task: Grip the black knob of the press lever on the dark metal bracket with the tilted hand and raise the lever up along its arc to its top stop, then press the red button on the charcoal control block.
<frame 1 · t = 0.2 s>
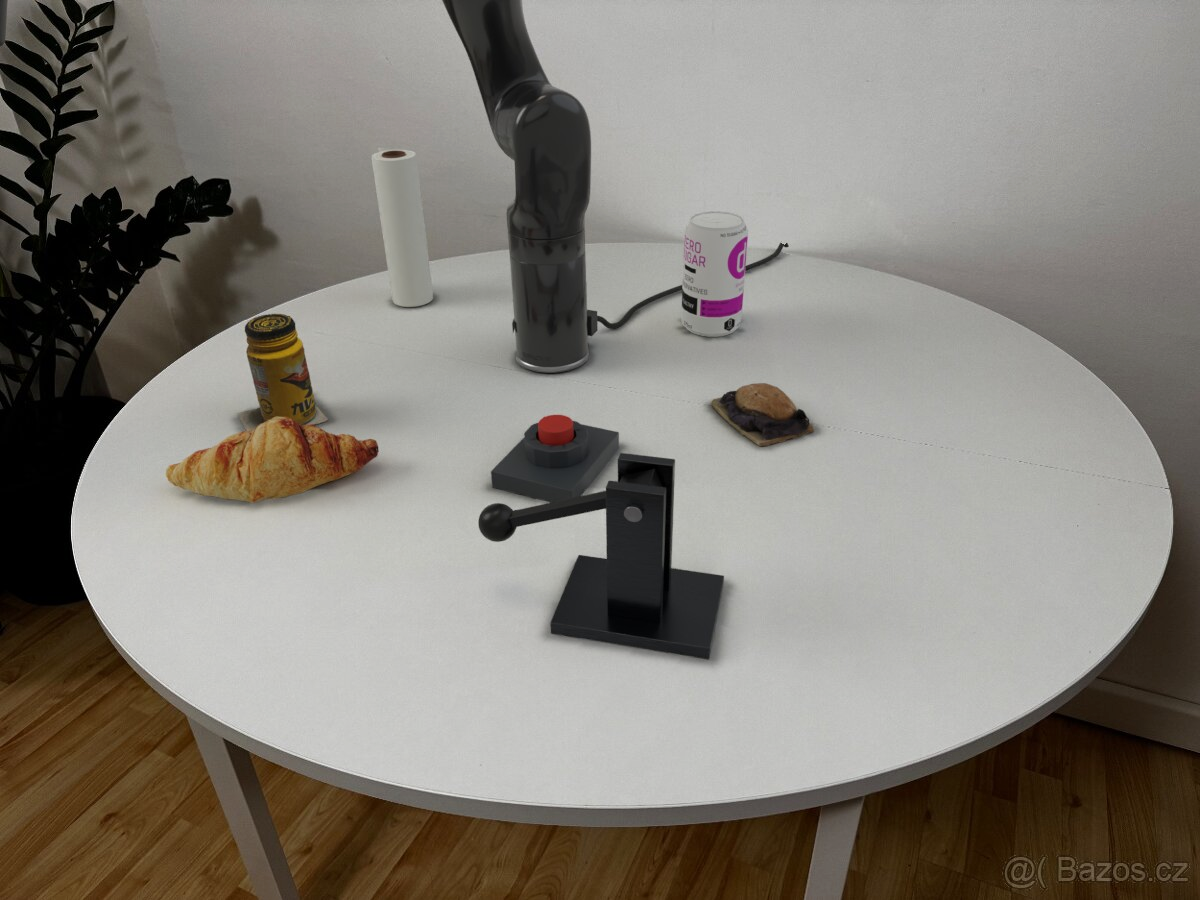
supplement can: (710, 327, 124), on the table
bracket: (639, 609, 75), on the table
paper towel roll: (414, 300, 133), on the table
control block: (557, 467, 94), on the table
button: (555, 430, 92), point 4 cm above the table, slide at 0.1 cm
brown rounded layered piece: (760, 419, 102), on the table
condiment: (282, 420, 104), on the table
croissant: (278, 479, 93), on the table
lever: (565, 508, 71), point 10 cm above the table, hinge at -22.0°
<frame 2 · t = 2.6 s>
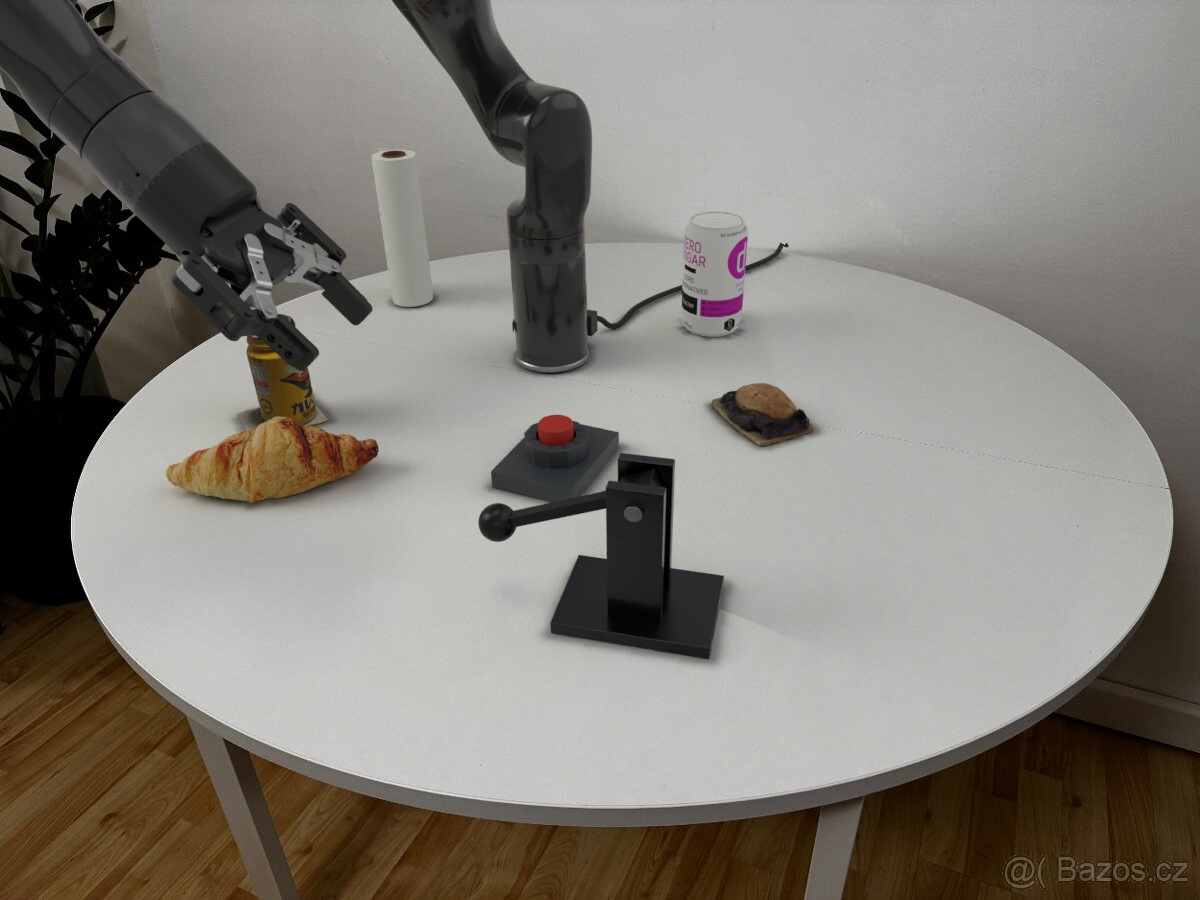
hand: (339, 339, 68), 23 cm above the table, tool tilted 45°, fingers open, 8 cm apart
nothing on the table moved.
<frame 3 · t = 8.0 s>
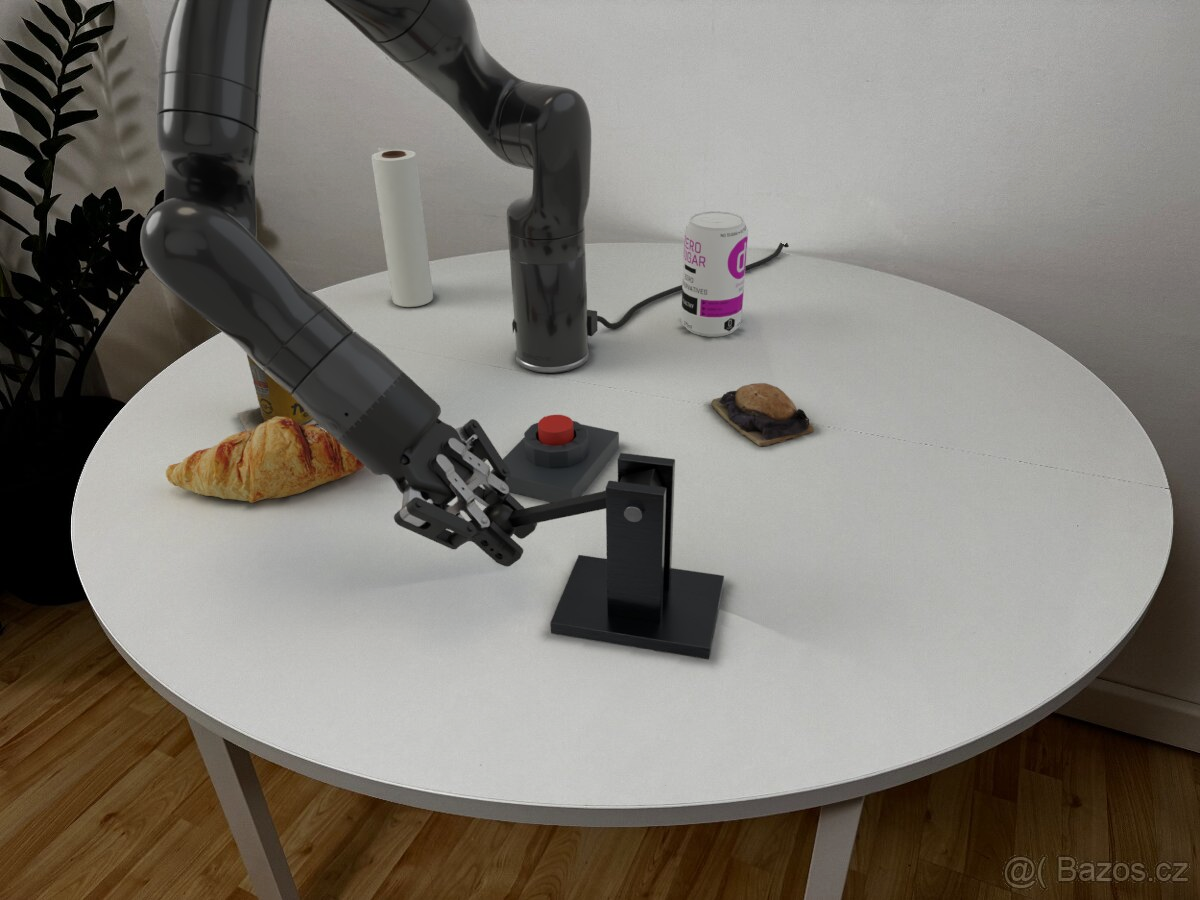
hand: (522, 544, 75), 5 cm above the table, tool tilted 45°, fingers closed on lever, 3 cm apart
lever: (565, 508, 71), point 10 cm above the table, hinge at -22.1°, touching gripper
everything else where it was.
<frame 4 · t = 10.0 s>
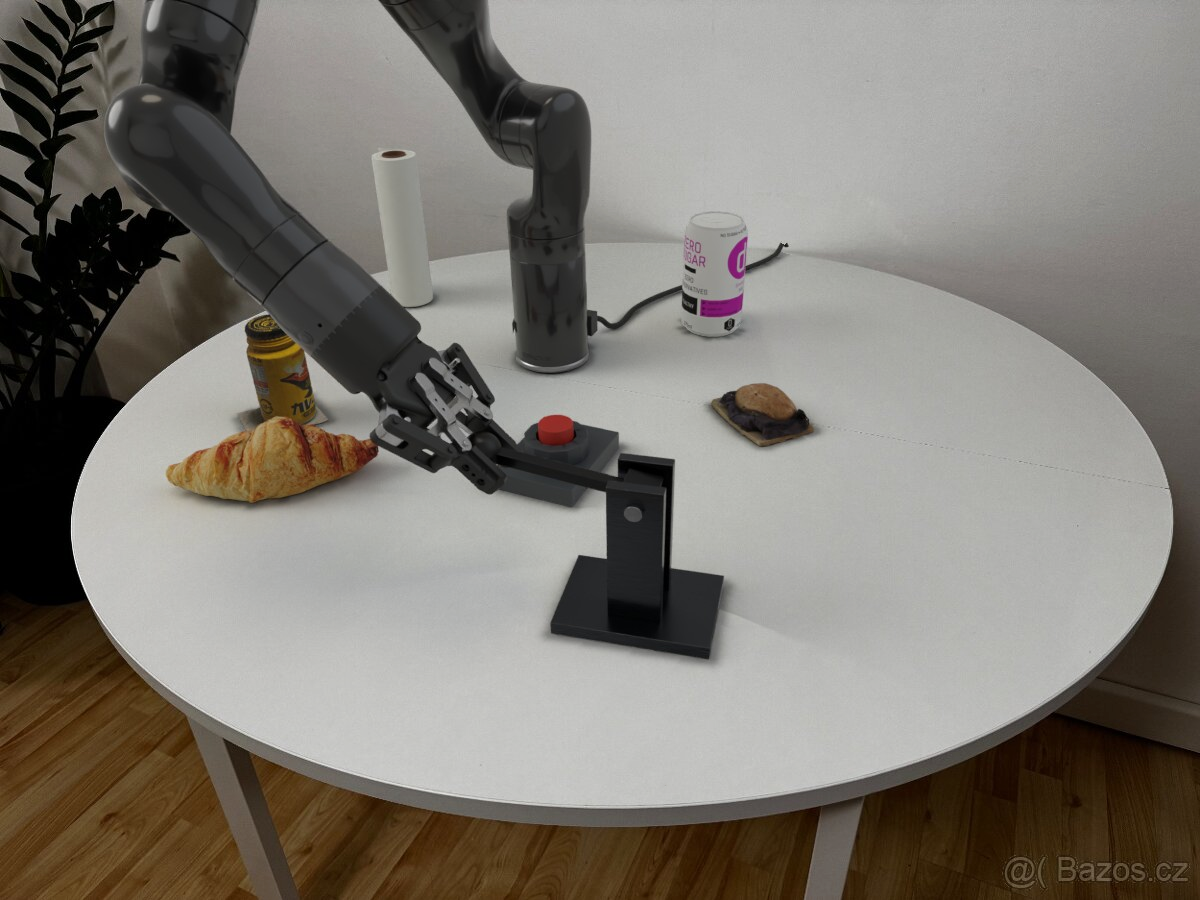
hand: (506, 472, 71), 12 cm above the table, tool tilted 45°, fingers closed on lever, 3 cm apart
lever: (559, 471, 70), point 13 cm above the table, hinge at 8.9°, touching gripper
everything else where it was.
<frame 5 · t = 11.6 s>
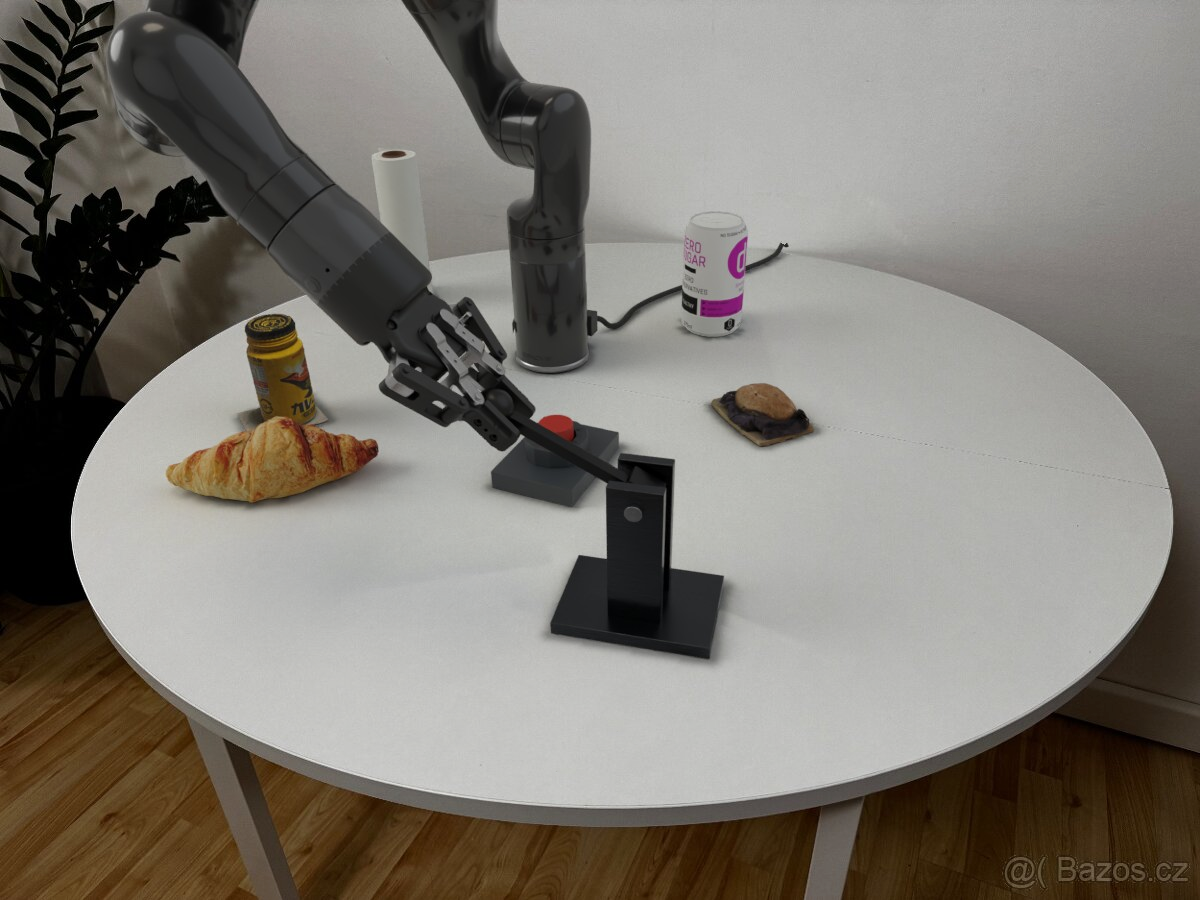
hand: (519, 430, 69), 16 cm above the table, tool tilted 45°, fingers closed on lever, 3 cm apart
lever: (566, 450, 68), point 15 cm above the table, hinge at 27.6°, touching gripper
everything else where it was.
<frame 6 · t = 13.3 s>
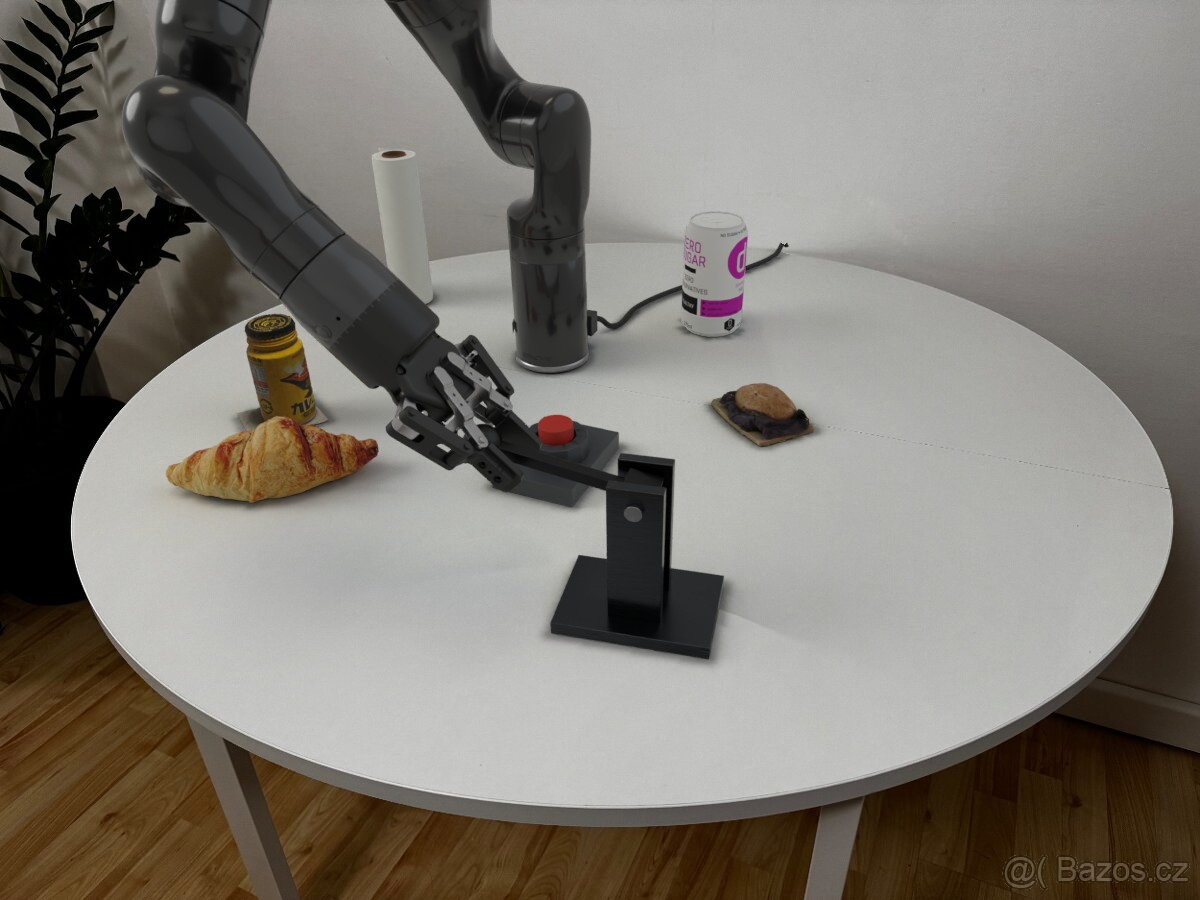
hand: (524, 467, 70), 13 cm above the table, tool tilted 45°, fingers open, 4 cm apart
lever: (559, 467, 70), point 13 cm above the table, hinge at 11.9°
everything else where it was.
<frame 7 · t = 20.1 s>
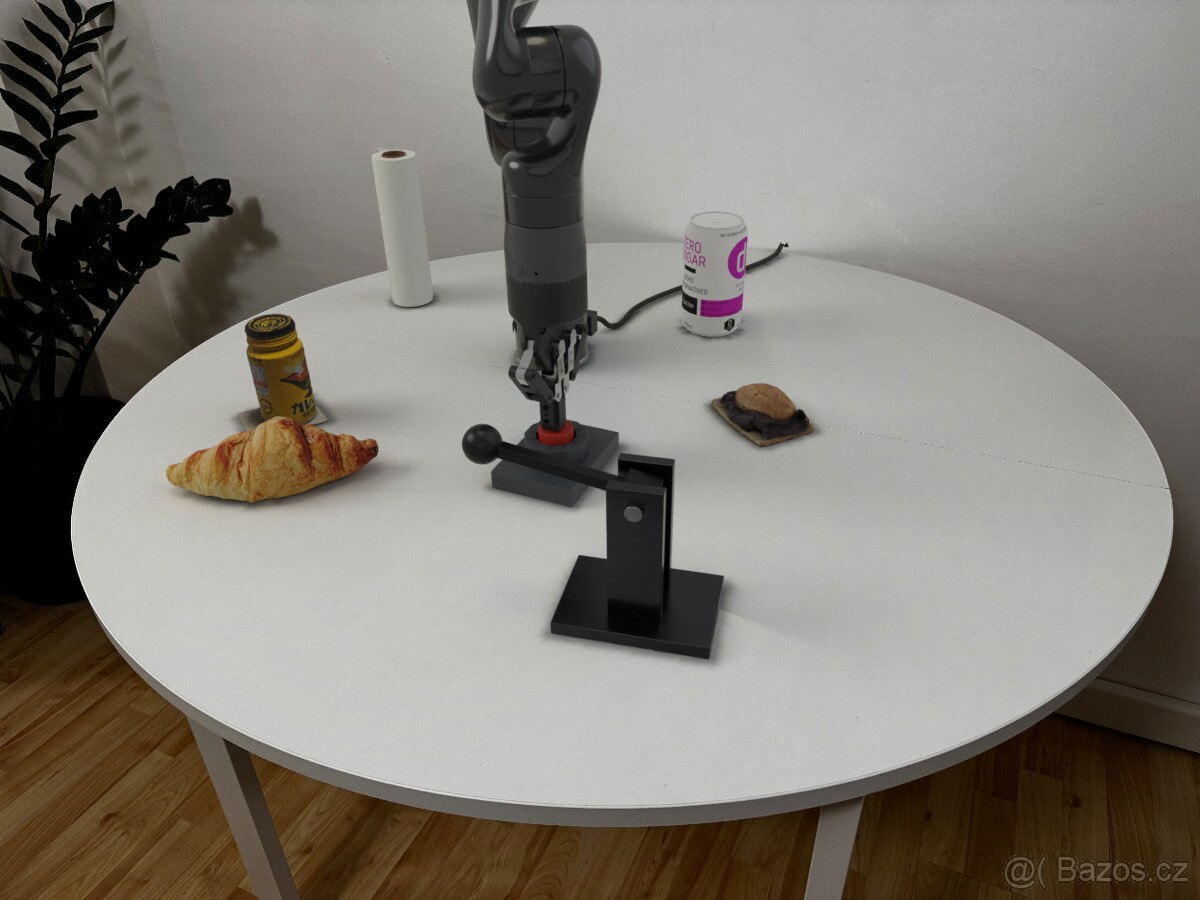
hand: (553, 427, 91), 5 cm above the table, tool pointing down, fingers closed
button: (556, 434, 92), point 4 cm above the table, slide at -0.4 cm, touching gripper
everything else where it was.
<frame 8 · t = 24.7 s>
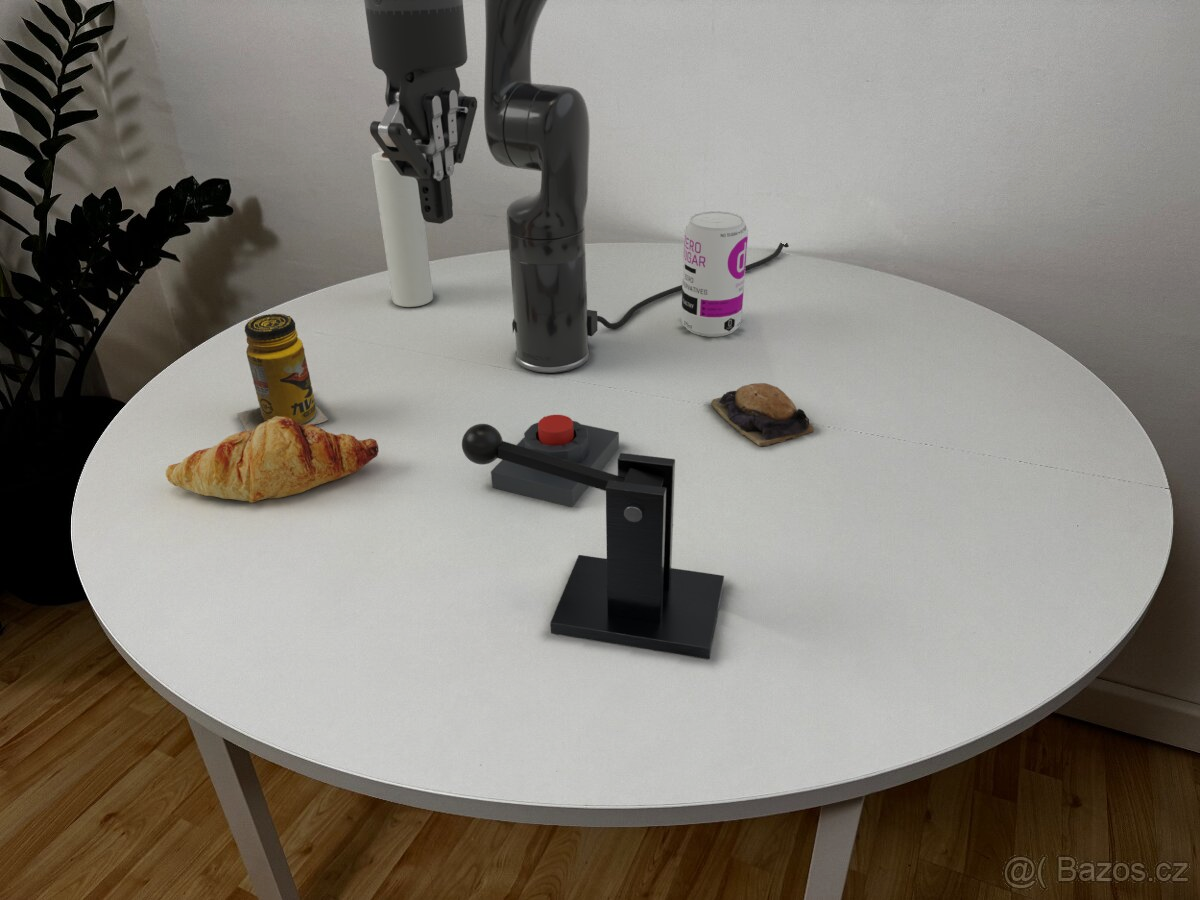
hand: (438, 220, 79), 27 cm above the table, tool pointing down, fingers closed
button: (555, 430, 92), point 4 cm above the table, slide at 0.1 cm
everything else where it was.
at the end: lever reached +28° during the clip, +12° at the end; lever at +12° (first picture: -22°); button pushed in 1.1 cm at the most during the clip, back to where it started at the end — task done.
